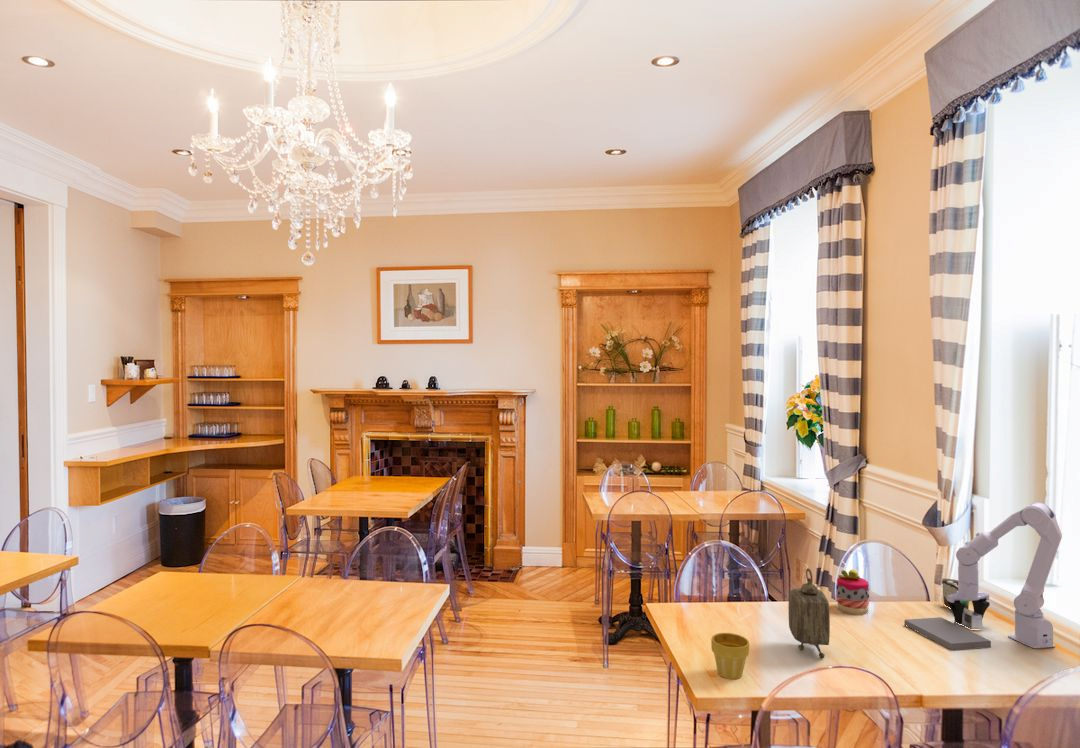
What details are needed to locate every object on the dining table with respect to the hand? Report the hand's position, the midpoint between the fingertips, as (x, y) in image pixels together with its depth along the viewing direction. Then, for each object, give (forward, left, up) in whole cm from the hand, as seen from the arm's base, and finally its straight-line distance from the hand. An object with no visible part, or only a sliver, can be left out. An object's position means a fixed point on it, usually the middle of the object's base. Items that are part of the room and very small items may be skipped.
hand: (968, 622), depth 217 cm
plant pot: (-20, +96, -2) cm, 98 cm away
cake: (+20, +29, -2) cm, 35 cm away
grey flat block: (-6, +14, -1) cm, 15 cm away
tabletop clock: (-9, +65, -2) cm, 66 cm away
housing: (0, 0, -2) cm, 2 cm away
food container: (+13, -9, -2) cm, 16 cm away
